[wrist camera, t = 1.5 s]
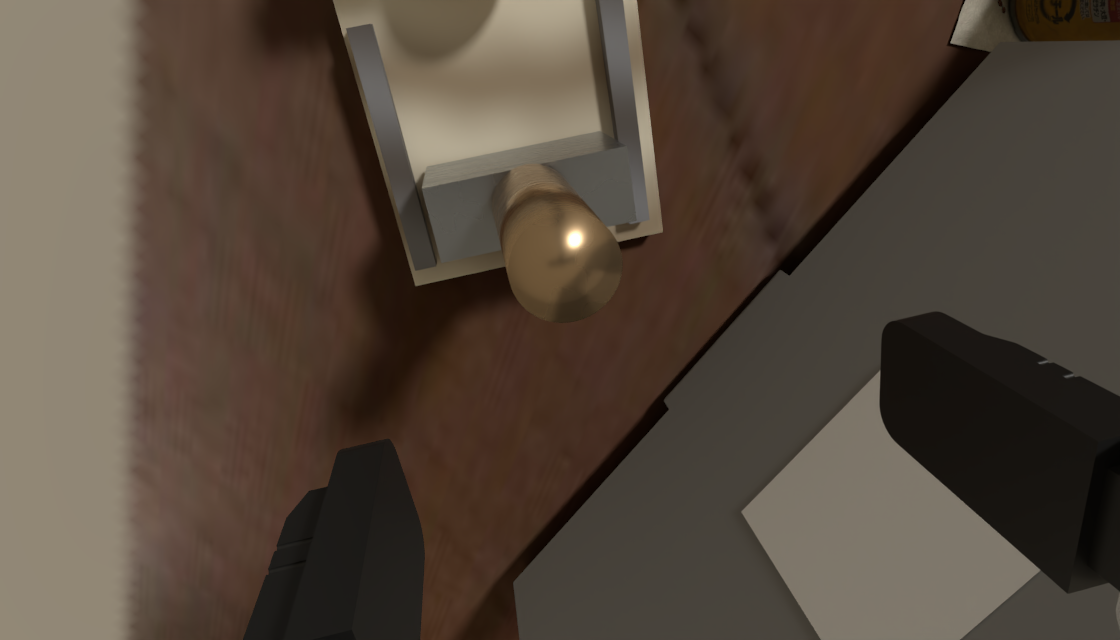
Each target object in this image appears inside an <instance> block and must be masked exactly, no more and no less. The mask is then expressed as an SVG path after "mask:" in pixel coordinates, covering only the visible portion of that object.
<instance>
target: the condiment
mask: <svg viewBox="0 0 1120 640" xmlns="http://www.w3.org/2000/svg"><path fill="white" fill-rule="evenodd" d="M1001 1H1002V6H1001V7H1000V6H999V4H998V0H965V3H964V5H963V7H962V10H961V12H960V15H959V20H958V23H957V26H956V29H955V32H954V34H953V37H952V40H951V42H950V43H951V44H956V45H961V46H966V47H970V48H974V49H979V50H985V51H989V52H992V51H993V49H994V48H995V47H996V46H997V45H998V44H999V43H1000V42H1041V41H1114V40H1120V0H1001ZM1002 7H1005V9H1006V12H1005V14H1004V13H1002Z"/></svg>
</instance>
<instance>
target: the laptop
mask: <svg viewBox="0 0 1120 640" xmlns="http://www.w3.org/2000/svg"><path fill="white" fill-rule="evenodd" d="M933 311H939V312H942V313H945V314H947V315H948V316H950V317H952V318H954V319H956V320H958V321H960V322H962V323H963V324H965V325H967V326H969V327H971V328H973V329H975V330H977V331H979V332H980V333H982V334H985V335H989V336H993V337H996V338H1000V339H1004V340H1007V341H1011V342H1014V343H1017V344H1019V345H1021V346H1023V347H1025V348H1027V349H1029V350H1031V351H1033V352H1035V353H1037V354H1039V355H1041V356H1042V357H1044V358H1046V359H1047V361H1048V363H1052V362H1054V363H1056V364H1058V365H1060V366H1062V367H1064V368H1066V369H1068V370H1070V371H1072V372H1073V374H1074V376H1075V377H1078V376H1081V377H1083V378H1085V379H1087V380H1089V381H1091V382H1093V383H1095V384H1097V385H1099V386H1101V387H1103V388H1105V389H1106V390H1108V391H1110V392H1112V393H1114V394H1116V395H1118V396H1120V40H1114V41H1041V42H1000V43H999V44H998V45H997V46H996V47H995V48H994V49H993V51H992V52H991V53H990V54H989V55H988V56H987V57H986V58H985V59H984V61H983V62H982V63H981V64H980V65H979V66H978V67H977V68H976V69H975V71H974V72H973V73H972V74H971V75H970V76H969V77H968V78H967V79H966V81H965V82H964V83H963V84H962V85H961V86H960V87H959V88H958V89H957V90H956V92H955V93H954V94H953V95H952V96H951V97H950V98H949V99H948V100H947V102H946V103H945V104H944V105H943V106H942V107H941V108H940V109H939V110H938V112H937V113H936V114H935V115H934V116H933V117H932V118H931V119H930V120H929V122H928V123H927V124H926V125H925V126H924V127H923V128H922V129H921V130H920V132H919V133H918V134H917V135H916V136H915V137H914V138H913V139H912V140H911V142H910V143H909V144H908V145H907V146H906V147H905V148H904V149H903V150H902V152H901V153H900V154H899V155H898V156H897V157H896V158H895V159H894V160H893V162H892V163H891V164H890V165H889V166H888V167H887V168H886V169H885V170H884V171H883V173H882V174H881V175H880V176H879V177H878V178H877V179H876V180H875V181H874V183H873V184H872V185H871V186H870V187H869V188H868V189H867V190H866V191H865V193H864V194H863V195H862V196H861V197H860V198H859V199H858V200H857V201H856V203H855V204H854V205H853V206H852V207H851V208H850V209H849V210H848V211H847V213H846V214H845V215H844V216H843V217H842V218H841V219H840V220H839V221H838V223H837V224H836V225H835V226H834V227H833V228H832V229H831V230H830V231H829V233H828V234H827V235H826V236H825V237H824V238H823V239H822V240H821V241H820V242H819V244H818V245H817V246H816V247H815V248H814V249H813V250H812V251H811V252H810V254H809V255H808V256H807V257H806V258H805V259H804V260H803V261H802V262H801V264H800V265H799V266H798V267H797V268H796V269H795V270H794V271H793V272H792V274H791V275H790V276H789V275H787V274H786V273H784V272H783V271H781V270H779V271H778V272H777V273H776V275H775V276H774V277H773V278H772V279H771V280H770V281H769V282H768V283H767V285H766V286H765V287H764V288H763V289H762V290H761V291H760V292H759V294H758V295H757V296H756V297H755V298H754V299H753V300H752V301H751V302H750V304H749V305H748V306H747V307H746V308H745V309H744V310H743V311H742V313H741V314H740V315H739V316H738V317H737V318H736V319H735V320H734V321H733V323H732V324H731V325H730V326H729V327H728V328H727V329H726V330H725V332H724V333H723V334H722V335H721V336H720V337H719V338H718V339H717V340H716V342H715V343H714V344H713V345H712V346H711V347H710V348H709V349H708V351H707V352H706V353H705V354H704V355H703V356H702V357H701V358H700V359H699V361H698V362H697V363H696V364H695V365H694V366H693V367H692V368H691V370H690V371H689V372H688V373H687V374H686V375H685V376H684V377H683V378H682V380H681V381H680V382H679V383H678V384H677V385H676V386H675V387H674V389H673V390H672V391H671V392H670V393H669V394H668V395H667V396H666V397H665V399H664V402H665V404H666V405H667V407H668V409H669V410H668V411H667V412H666V413H665V414H664V416H663V417H662V418H661V419H660V420H659V421H658V422H657V423H656V424H655V426H654V427H653V428H652V429H651V430H650V431H649V432H648V433H647V434H646V436H645V437H644V438H643V439H642V440H641V441H640V442H639V443H638V444H637V446H636V447H635V448H634V449H633V450H632V451H631V452H630V453H629V454H628V455H627V457H626V458H625V459H624V460H623V461H622V462H621V463H620V464H619V465H618V467H617V468H616V469H615V470H614V471H613V472H612V473H611V474H610V475H609V477H608V478H607V479H606V480H605V481H604V482H603V483H602V484H601V485H600V487H599V488H598V489H597V490H596V491H595V492H594V493H593V494H592V495H591V497H590V498H589V499H588V500H587V501H586V502H585V503H584V504H583V505H582V507H581V508H580V509H579V510H578V511H577V512H576V513H575V514H574V515H573V517H572V518H571V519H570V520H569V521H568V522H567V523H566V524H565V525H564V526H563V528H562V529H561V530H560V531H559V532H558V533H557V534H556V535H555V536H554V538H553V539H552V540H551V541H550V542H549V543H548V544H547V545H546V546H545V548H544V549H543V550H542V551H541V552H540V553H539V554H538V555H537V556H536V558H535V559H534V560H533V561H532V562H531V563H530V564H529V565H528V566H527V568H526V569H525V570H524V571H523V572H522V573H521V574H520V575H519V576H518V578H517V579H516V580H515V581H514V582H513V586H514V595H515V604H516V612H517V621H518V630H519V639H520V640H1120V629H1119V625H1118V621H1117V617H1116V605H1117V601H1118V597H1119V593H1120V591H1118V590H1117V589H1116V588H1115V587H1113V586H1112V585H1111V584H1110V583H1107V584H1103V585H1099V586H1096V587H1092V588H1088V589H1085V590H1081V591H1077V592H1074V593H1070V594H1067V593H1066V592H1065V591H1064V590H1063V589H1061V588H1060V587H1059V586H1058V585H1057V584H1056V583H1055V582H1053V581H1052V580H1051V579H1050V578H1049V577H1048V576H1047V575H1046V574H1044V573H1043V572H1042V571H1041V570H1040V569H1039V568H1038V567H1036V566H1035V565H1034V564H1033V563H1032V562H1031V561H1030V560H1029V559H1027V558H1026V557H1025V556H1024V555H1023V554H1022V553H1021V552H1019V551H1018V550H1017V549H1016V548H1015V547H1014V546H1013V545H1011V544H1010V543H1009V542H1008V541H1007V540H1006V539H1005V538H1004V537H1002V536H1001V535H1000V534H999V533H998V532H997V531H996V530H994V529H993V528H992V527H991V526H990V525H989V524H988V523H987V522H985V521H984V520H983V519H982V518H981V517H980V516H979V515H977V514H976V513H975V512H974V511H973V510H972V509H971V508H969V507H968V506H967V505H966V504H965V503H964V502H963V501H962V500H960V499H959V498H958V497H957V496H956V495H955V494H954V493H952V492H951V491H950V490H949V489H948V488H947V487H946V486H945V485H943V484H942V483H941V482H940V481H939V480H938V479H937V478H935V477H934V476H933V475H932V474H931V473H930V472H929V471H928V470H926V469H925V468H924V467H923V466H922V465H921V464H920V463H918V462H917V461H916V460H915V459H914V458H913V457H912V456H910V455H909V454H908V453H907V452H906V451H905V450H904V449H903V448H901V447H900V446H899V445H898V444H897V443H896V442H895V441H894V440H893V439H892V438H891V436H890V435H889V433H888V432H887V430H886V428H885V426H884V423H883V421H882V418H881V413H880V407H879V399H880V368H881V338H882V332H883V329H884V327H885V326H886V324H888V323H889V322H891V321H895V320H899V319H903V318H908V317H912V316H916V315H920V314H925V313H929V312H933Z"/></svg>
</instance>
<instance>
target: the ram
mask: <svg viewBox="0 0 1120 640" xmlns="http://www.w3.org/2000/svg"><path fill="white" fill-rule="evenodd" d="M422 192H423V196H424V199H425V203H426V207H427V211H428V214H429V218H430V222H431V226H432V229H433V233H434V237H435V241H436V244H437V248H438V252H439V256H440V259H441V263H444V262H449V261H454V260H458V259H463V258H467V257H472V256H477V255H481V254H486V253H490V252H495V251H500V250H502V254H503V258H504V262H505V266H506V270H507V274H508V278H509V282H510V286H511V289H512V291H513V293H514V295H515V297H516V299H517V300H518V302H519V303H520V304H521V305H522V306H523V307H524V308H525V309H526V310H527V311H528V312H530V313H531V314H533V315H535V316H537V317H539V318H541V319H544V320H547V321H551V322H559V323H565V322H574V321H578V320H581V319H584V318H586V317H589V316H591V315H592V314H594V313H596V312H597V311H598V310H600V309H601V308H602V307H603V306H604V305H605V304H607V302H608V301H609V300H610V299H611V298H612V296H613V294H614V293H615V291H616V289H617V287H618V285H619V282H620V279H621V274H622V255H621V250H620V247H619V245H618V242H617V240H616V239H615V237H614V235H613V234H612V233H611V231H610V230H609V229H608V228H607V227H610V226H615V225H619V224H624V223H629V222H633V221H637V219H636V211H635V204H634V196H633V188H632V180H631V173H630V165H629V157H628V150H627V146H626V145H624V144H623V143H621V142H619V141H617V140H615V139H614V138H612V137H610V136H608V135H606V134H605V133H603V132H601V131H597V132H592V133H587V134H583V135H578V136H573V137H568V138H563V139H558V140H553V141H549V142H544V143H539V144H534V145H529V146H524V147H519V148H515V149H510V150H505V151H500V152H495V153H490V154H485V155H481V156H476V157H471V158H466V159H461V160H456V161H451V162H447V163H442V164H437V165H432V166H427V167H426V171H425V176H424V180H423V185H422Z"/></svg>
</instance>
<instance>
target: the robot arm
mask: <svg viewBox="0 0 1120 640" xmlns="http://www.w3.org/2000/svg"><path fill="white" fill-rule="evenodd" d="M879 407H880V413H881V418H882V421H883V423H884V426H885V428H886V430H887V432H888V433H889V435H890V436H891V438H892V439H893V440H894V441H895V442H896V443H897V444H898V445H899V446H900V447H901V448H903V449H904V450H905V451H906V452H907V453H908V454H909V455H910V456H912V457H913V458H914V459H915V460H916V461H917V462H918V463H920V464H921V465H922V466H923V467H924V468H925V469H926V470H928V471H929V472H930V473H931V474H932V475H933V476H934V477H935V478H937V479H938V480H939V481H940V482H941V483H942V484H943V485H945V486H946V487H947V488H948V489H949V490H950V491H951V492H952V493H954V494H955V495H956V496H957V497H958V498H959V499H960V500H962V501H963V502H964V503H965V504H966V505H967V506H968V507H969V508H971V509H972V510H973V511H974V512H975V513H976V514H977V515H979V516H980V517H981V518H982V519H983V520H984V521H985V522H987V523H988V524H989V525H990V526H991V527H992V528H993V529H994V530H996V531H997V532H998V533H999V534H1000V535H1001V536H1002V537H1004V538H1005V539H1006V540H1007V541H1008V542H1009V543H1010V544H1011V545H1013V546H1014V547H1015V548H1016V549H1017V550H1018V551H1019V552H1021V553H1022V554H1023V555H1024V556H1025V557H1026V558H1027V559H1029V560H1030V561H1031V562H1032V563H1033V564H1034V565H1035V566H1036V567H1038V568H1039V569H1040V570H1041V571H1042V572H1043V573H1044V574H1046V575H1047V576H1048V577H1049V578H1050V579H1051V580H1052V581H1053V582H1055V583H1056V584H1057V585H1058V586H1059V587H1060V588H1061V589H1063V590H1064V591H1065V592H1066V593H1067V594H1070V593H1074V592H1077V591H1081V590H1085V589H1088V588H1092V587H1096V586H1099V585H1103V584H1107V583H1110V584H1111V585H1112V586H1113V587H1115V588H1116V589H1117V590H1118V591H1120V396H1118V395H1116V394H1114V393H1112V392H1110V391H1108V390H1106V389H1105V388H1103V387H1101V386H1099V385H1097V384H1095V383H1093V382H1091V381H1089V380H1087V379H1085V378H1083V377H1081V376H1078V377H1075V376H1074V374H1073V372H1072V371H1070V370H1068V369H1066V368H1064V367H1062V366H1060V365H1058V364H1056V363H1054V362H1052V363H1048V361H1047V359H1046V358H1044V357H1042V356H1041V355H1039V354H1037V353H1035V352H1033V351H1031V350H1029V349H1027V348H1025V347H1023V346H1021V345H1019V344H1017V343H1014V342H1011V341H1007V340H1004V339H1000V338H996V337H993V336H989V335H985V334H982V333H980V332H979V331H977V330H975V329H973V328H971V327H969V326H967V325H965V324H963V323H962V322H960V321H958V320H956V319H954V318H952V317H950V316H948V315H947V314H945V313H942V312H939V311H933V312H929V313H925V314H920V315H916V316H912V317H908V318H903V319H899V320H895V321H891V322H889V323H888V324H886V326H885V327H884V329H883V332H882V338H881V368H880V399H879ZM424 560H425V552H424V541H423V534H422V529H421V524H420V520H419V517H418V514H417V511H416V508H415V505H414V502H413V499H412V496H411V493H410V490H409V487H408V484H407V481H406V479H405V476H404V473H403V470H402V467H401V464H400V461H399V458H398V455H397V452H396V449H395V447H394V445H393V443H392V442H391V440H389V439H384V440H380V441H376V442H371V443H367V444H363V445H359V446H354V447H350V448H346V449H342V450H340V451H339V452H338V453H337V456H336V459H335V463H334V466H333V470H332V473H331V477H330V480H329V484H328V487H324V488H320V489H316V490H312V491H309V492H308V493H307V494H306V495H305V497H304V498H303V499H302V500H301V501H300V503H299V504H298V505H297V506H296V507H295V508H294V510H293V511H292V512H291V513H290V514H289V516H288V517H287V518H286V521H285V524H284V527H283V529H282V532H281V535H280V538H279V540H278V543H277V551H275V552H274V554H273V557H272V560H271V563H270V566H269V568H268V570H269V575H266V577H265V580H264V582H263V585H262V588H261V591H260V594H259V596H258V599H257V602H256V605H255V608H254V610H253V613H252V616H251V619H250V621H249V624H248V627H247V630H246V633H245V635H244V638H243V640H420V631H421V613H422V596H423V578H424ZM1116 617H1117V621H1118V625H1119V629H1120V593H1119V597H1118V601H1117V605H1116Z"/></svg>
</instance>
